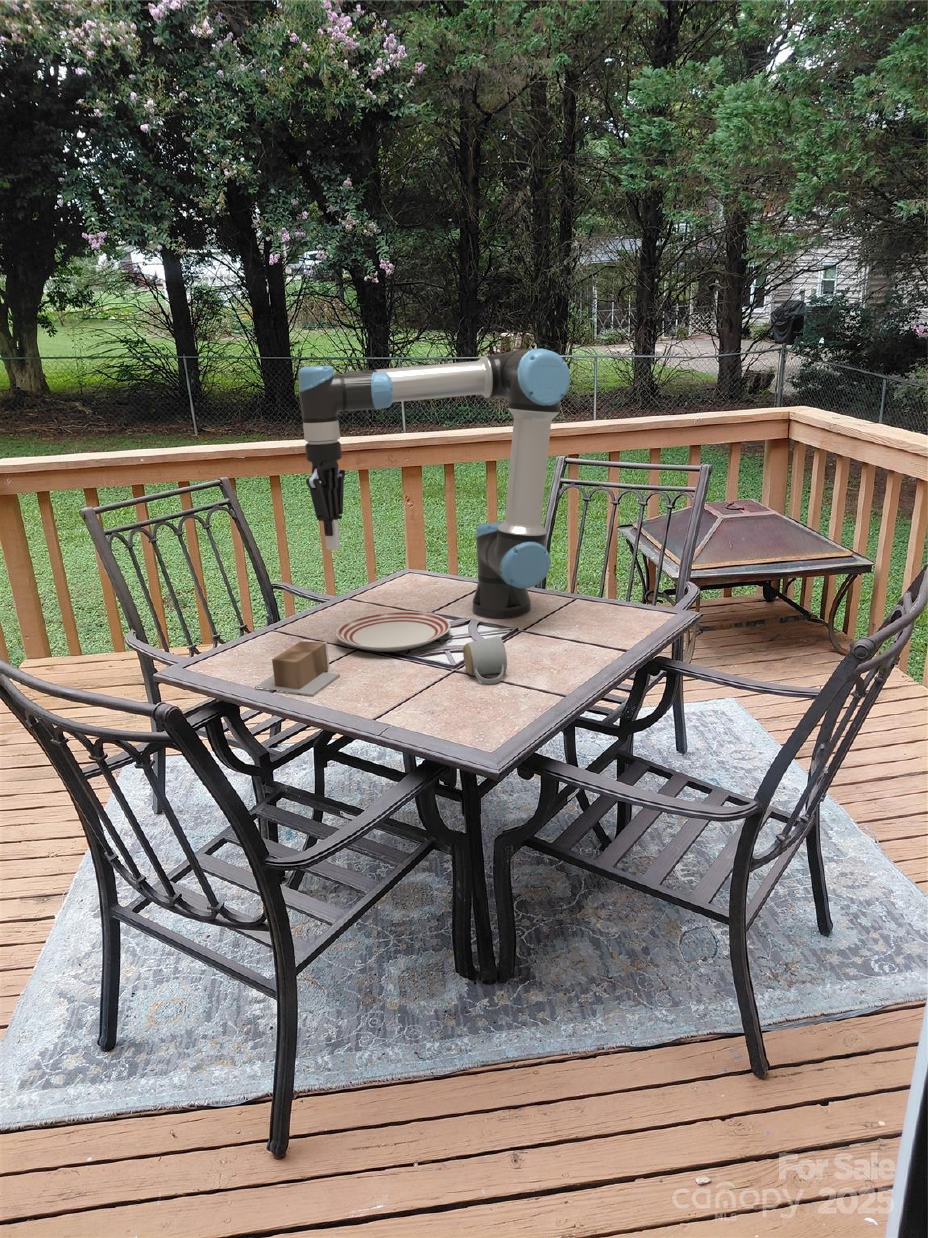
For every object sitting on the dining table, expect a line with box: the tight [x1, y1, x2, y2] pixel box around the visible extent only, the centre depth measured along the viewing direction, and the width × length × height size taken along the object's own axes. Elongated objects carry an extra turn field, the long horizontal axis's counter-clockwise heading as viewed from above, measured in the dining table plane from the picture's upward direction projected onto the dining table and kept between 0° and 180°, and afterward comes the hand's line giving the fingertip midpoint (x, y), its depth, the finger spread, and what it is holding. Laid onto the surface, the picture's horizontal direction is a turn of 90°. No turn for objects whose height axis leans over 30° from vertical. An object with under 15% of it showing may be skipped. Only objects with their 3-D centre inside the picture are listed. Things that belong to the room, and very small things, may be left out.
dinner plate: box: [335, 610, 451, 653], centre depth 200 cm, size 27×27×3 cm
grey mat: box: [255, 671, 340, 697], centre depth 177 cm, size 14×11×1 cm
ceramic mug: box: [462, 635, 508, 685], centre depth 175 cm, size 11×8×8 cm
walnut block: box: [271, 639, 330, 689], centre depth 178 cm, size 6×6×12 cm
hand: (333, 548), depth 186 cm, fingers closed
